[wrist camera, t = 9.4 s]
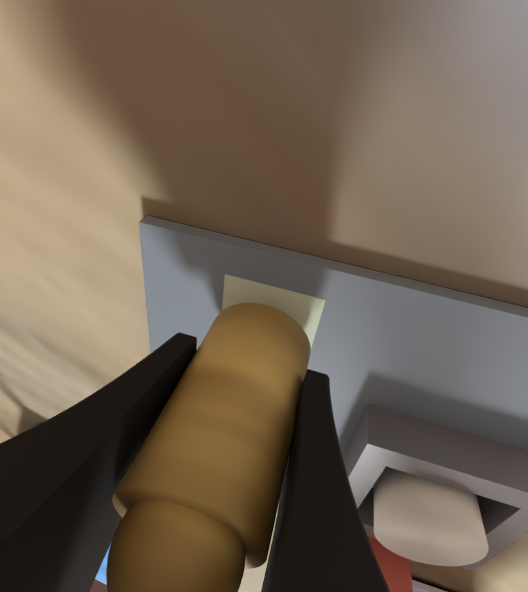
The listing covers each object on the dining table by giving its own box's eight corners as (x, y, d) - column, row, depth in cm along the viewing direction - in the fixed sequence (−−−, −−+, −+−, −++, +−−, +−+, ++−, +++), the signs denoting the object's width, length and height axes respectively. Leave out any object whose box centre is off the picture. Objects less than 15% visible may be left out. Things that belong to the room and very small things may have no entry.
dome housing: (460, 515, 18) (471, 571, 16) (328, 473, 18) (323, 521, 17) (541, 442, 14) (569, 505, 12) (368, 392, 14) (367, 443, 13)
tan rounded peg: (299, 389, 13) (232, 689, 7) (210, 362, 14) (75, 623, 8) (321, 319, 11) (251, 672, 5) (213, 290, 11) (26, 580, 5)
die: (400, 551, 20) (405, 649, 17) (329, 535, 21) (321, 624, 18) (407, 517, 18) (414, 621, 14) (328, 501, 19) (319, 595, 16)
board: (410, 552, 21) (411, 564, 20) (166, 468, 23) (161, 478, 22) (640, 335, 10) (654, 349, 10) (147, 215, 12) (138, 222, 12)
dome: (447, 514, 16) (457, 575, 14) (362, 487, 17) (361, 542, 15) (492, 472, 14) (511, 538, 12) (391, 441, 14) (394, 500, 12)
